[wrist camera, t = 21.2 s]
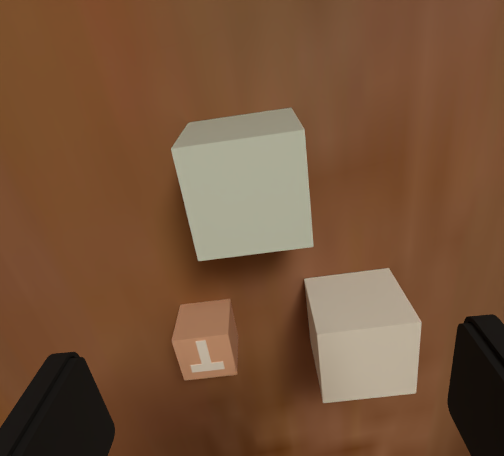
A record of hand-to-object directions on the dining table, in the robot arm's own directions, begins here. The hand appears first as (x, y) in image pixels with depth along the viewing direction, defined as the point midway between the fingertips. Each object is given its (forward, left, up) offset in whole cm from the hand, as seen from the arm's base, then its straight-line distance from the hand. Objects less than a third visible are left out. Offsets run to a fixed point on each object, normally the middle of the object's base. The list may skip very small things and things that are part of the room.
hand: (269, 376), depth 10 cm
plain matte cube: (+1, 0, -17) cm, 17 cm away
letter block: (-4, +13, -17) cm, 22 cm away
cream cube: (-12, +6, -17) cm, 22 cm away
